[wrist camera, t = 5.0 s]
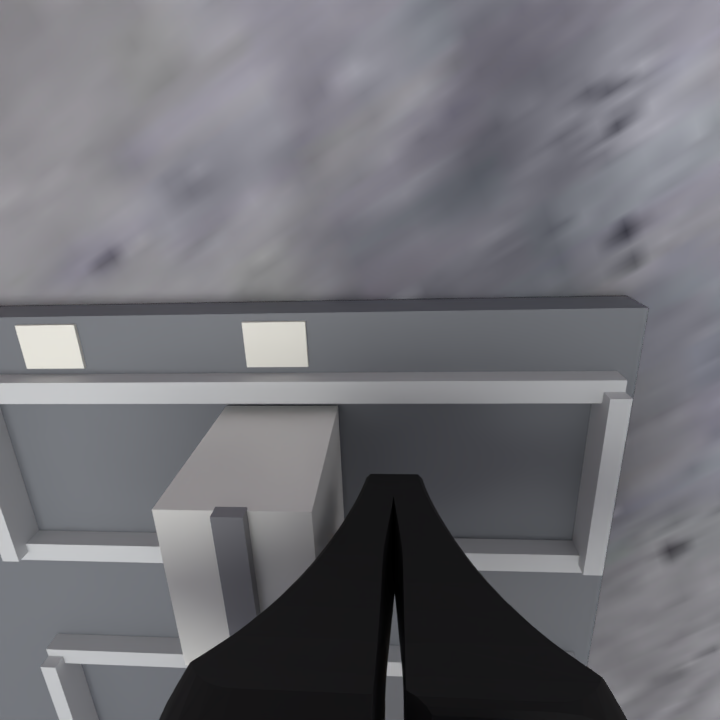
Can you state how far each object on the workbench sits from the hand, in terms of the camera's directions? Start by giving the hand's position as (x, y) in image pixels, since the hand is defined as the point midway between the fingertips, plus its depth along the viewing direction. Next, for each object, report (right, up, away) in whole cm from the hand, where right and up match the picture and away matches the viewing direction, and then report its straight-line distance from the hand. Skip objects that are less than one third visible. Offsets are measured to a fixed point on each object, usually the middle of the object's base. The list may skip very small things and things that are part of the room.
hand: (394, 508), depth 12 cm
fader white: (-3, +1, +2) cm, 3 cm away
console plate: (-5, -4, +5) cm, 8 cm away
